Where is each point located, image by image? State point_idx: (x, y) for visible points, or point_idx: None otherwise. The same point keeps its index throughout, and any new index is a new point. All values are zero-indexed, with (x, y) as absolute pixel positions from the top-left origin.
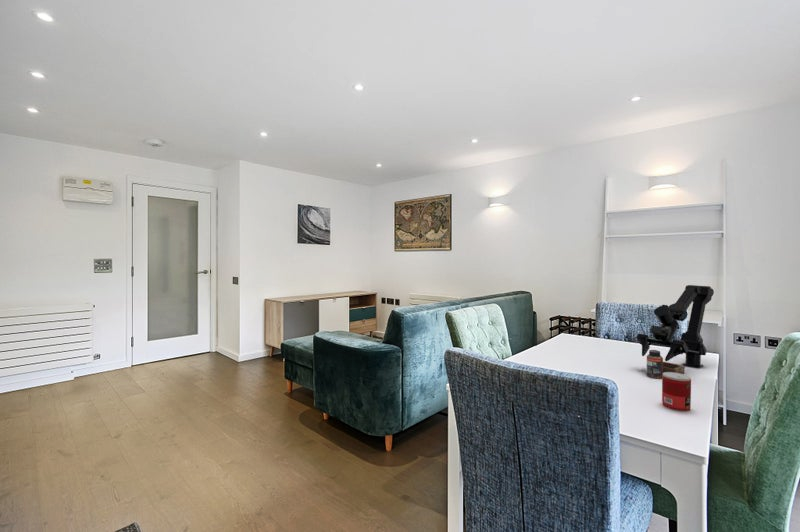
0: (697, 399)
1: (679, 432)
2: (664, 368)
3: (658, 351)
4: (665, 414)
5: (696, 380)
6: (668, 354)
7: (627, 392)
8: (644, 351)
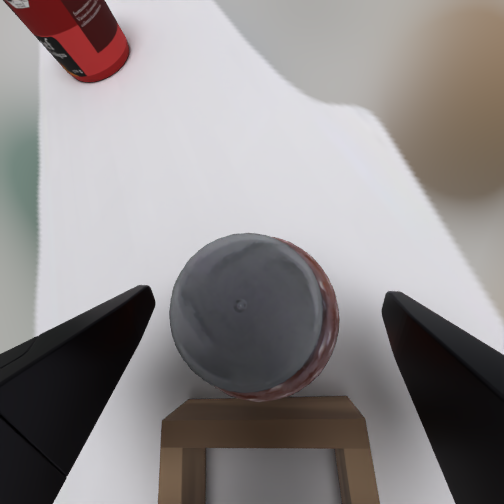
0: (65, 162)
1: None
2: (239, 417)
3: (190, 318)
4: (108, 5)
5: (98, 464)
6: (75, 323)
7: (231, 36)
8: (417, 342)
